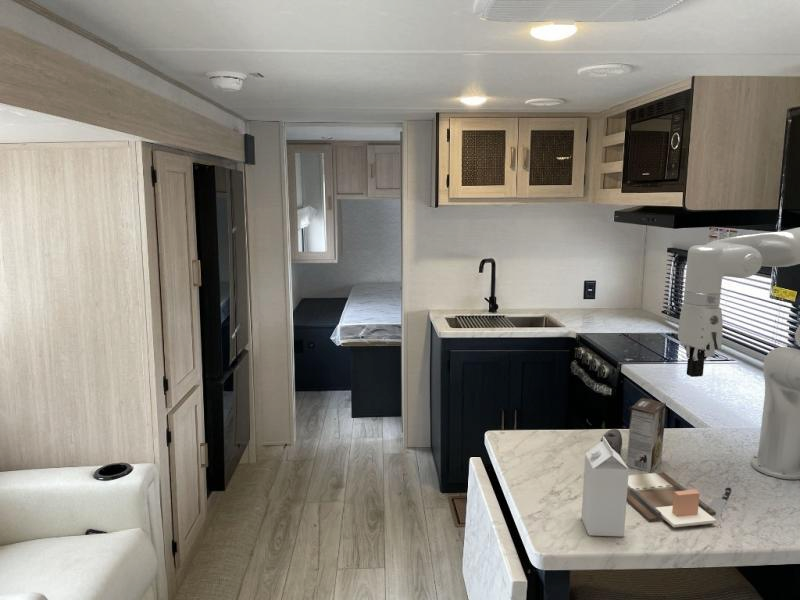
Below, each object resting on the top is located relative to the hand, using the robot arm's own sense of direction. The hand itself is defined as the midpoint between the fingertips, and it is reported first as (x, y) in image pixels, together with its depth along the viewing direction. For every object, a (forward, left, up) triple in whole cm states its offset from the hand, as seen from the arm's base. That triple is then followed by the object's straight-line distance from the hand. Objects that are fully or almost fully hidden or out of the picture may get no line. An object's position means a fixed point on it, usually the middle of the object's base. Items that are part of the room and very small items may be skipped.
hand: (694, 375), depth 144 cm
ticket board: (+11, +6, -27) cm, 30 cm away
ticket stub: (+11, +15, -26) cm, 32 cm away
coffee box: (+4, -11, -27) cm, 30 cm away
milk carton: (+30, +15, -27) cm, 43 cm away
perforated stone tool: (+10, -17, -27) cm, 34 cm away
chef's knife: (0, +11, -28) cm, 30 cm away
